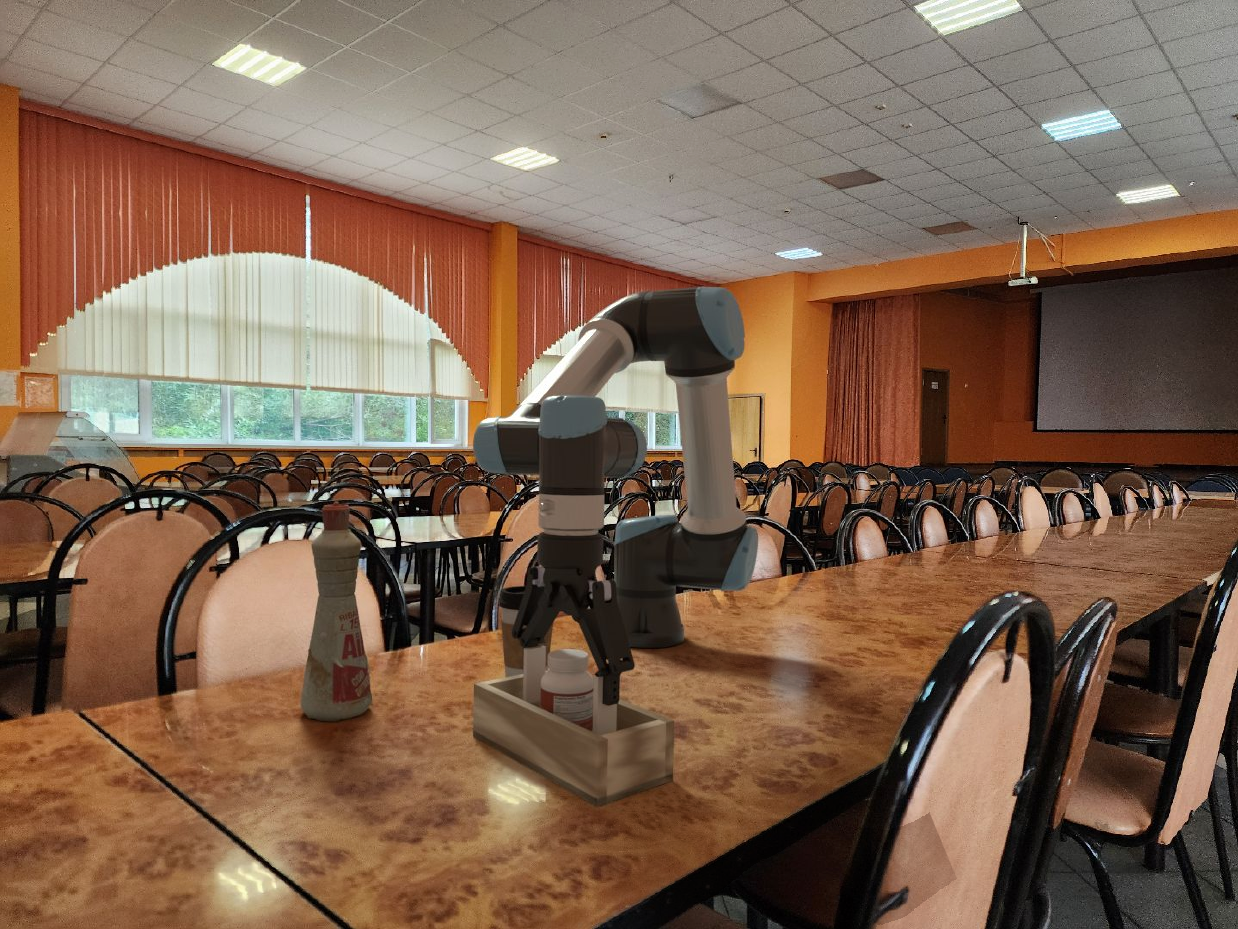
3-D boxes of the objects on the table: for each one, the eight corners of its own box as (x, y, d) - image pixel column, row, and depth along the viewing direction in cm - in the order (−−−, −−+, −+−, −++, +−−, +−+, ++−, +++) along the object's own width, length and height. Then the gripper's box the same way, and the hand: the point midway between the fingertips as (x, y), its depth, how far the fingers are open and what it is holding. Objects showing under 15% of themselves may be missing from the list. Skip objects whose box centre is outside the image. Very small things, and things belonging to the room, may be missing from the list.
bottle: (315, 700, 110) (318, 498, 110) (380, 702, 110) (383, 499, 109) (287, 722, 102) (290, 502, 101) (358, 724, 101) (361, 503, 101)
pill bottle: (542, 739, 95) (543, 646, 95) (594, 740, 95) (595, 647, 95) (536, 759, 89) (538, 660, 88) (592, 761, 89) (593, 661, 88)
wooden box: (543, 719, 104) (544, 669, 104) (672, 780, 86) (674, 720, 86) (472, 736, 98) (473, 683, 98) (597, 807, 79) (598, 741, 79)
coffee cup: (545, 699, 113) (547, 593, 113) (488, 694, 115) (490, 590, 114) (561, 682, 121) (563, 584, 121) (508, 678, 123) (510, 581, 123)
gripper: (485, 523, 98) (482, 695, 99) (615, 544, 79) (611, 756, 80) (536, 521, 103) (533, 684, 104) (669, 540, 84) (665, 740, 84)
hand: (567, 716), depth 92 cm, fingers open, 13 cm apart
